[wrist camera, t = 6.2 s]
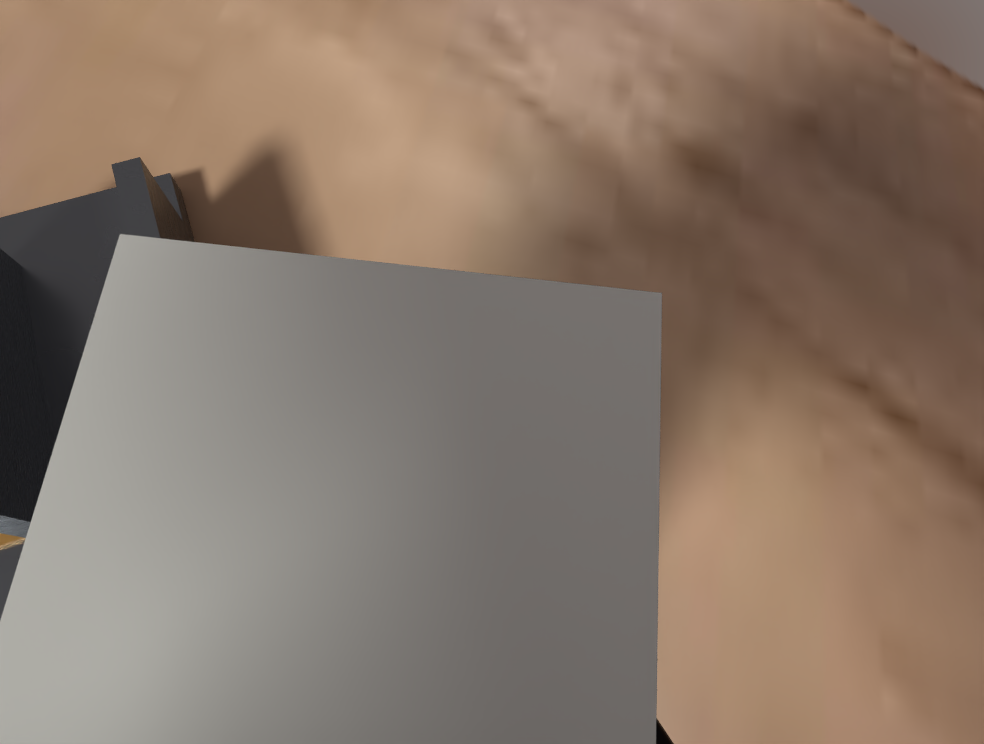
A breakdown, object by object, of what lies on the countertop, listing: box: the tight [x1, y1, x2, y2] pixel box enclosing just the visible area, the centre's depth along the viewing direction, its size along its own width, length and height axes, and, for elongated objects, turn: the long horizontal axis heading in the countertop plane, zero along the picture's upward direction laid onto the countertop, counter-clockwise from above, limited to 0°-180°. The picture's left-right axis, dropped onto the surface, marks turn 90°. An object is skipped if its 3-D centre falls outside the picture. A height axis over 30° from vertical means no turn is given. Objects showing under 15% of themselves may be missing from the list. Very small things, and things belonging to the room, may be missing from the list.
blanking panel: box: [0, 234, 662, 744], centre depth 9 cm, size 6×3×12 cm, turn 175°
